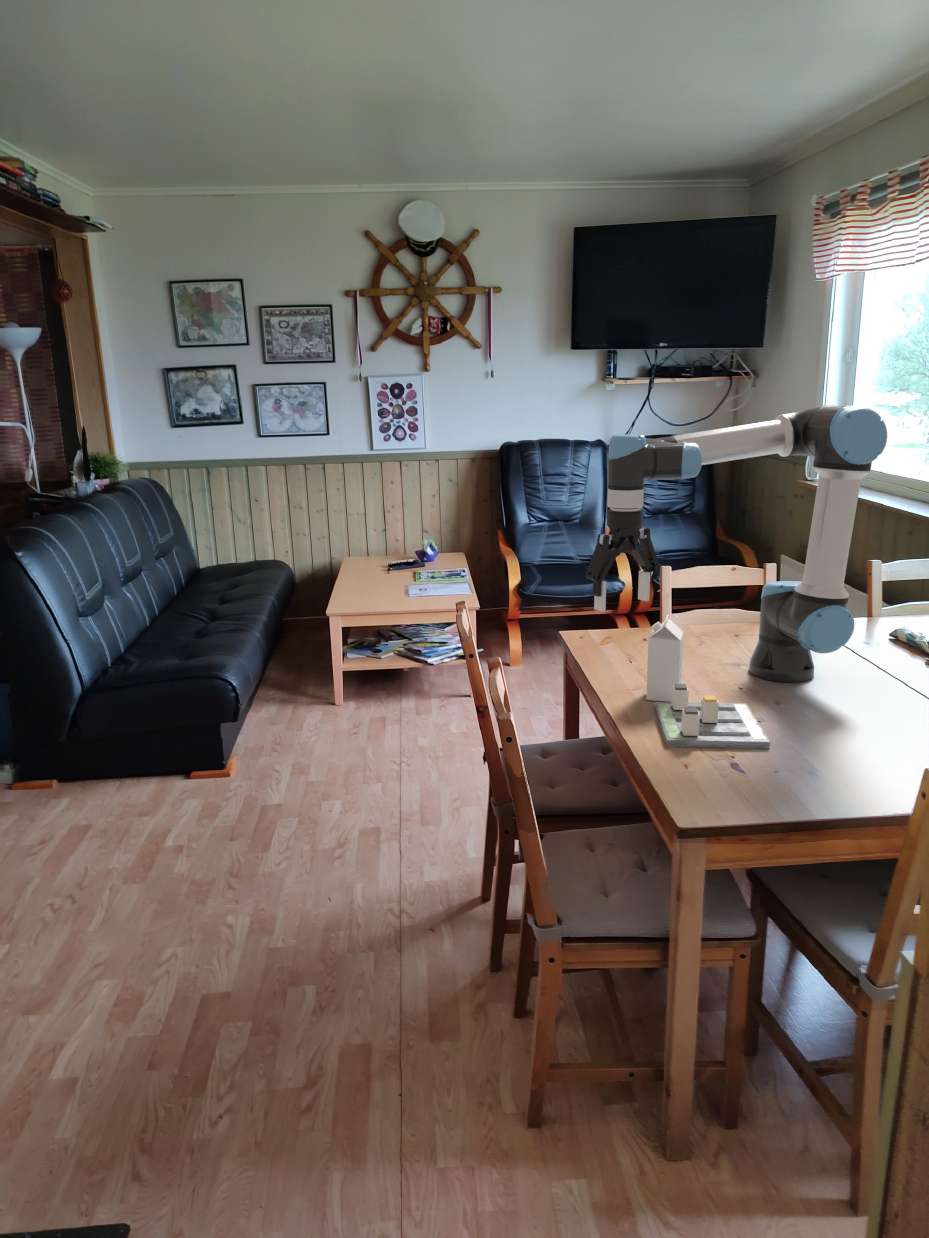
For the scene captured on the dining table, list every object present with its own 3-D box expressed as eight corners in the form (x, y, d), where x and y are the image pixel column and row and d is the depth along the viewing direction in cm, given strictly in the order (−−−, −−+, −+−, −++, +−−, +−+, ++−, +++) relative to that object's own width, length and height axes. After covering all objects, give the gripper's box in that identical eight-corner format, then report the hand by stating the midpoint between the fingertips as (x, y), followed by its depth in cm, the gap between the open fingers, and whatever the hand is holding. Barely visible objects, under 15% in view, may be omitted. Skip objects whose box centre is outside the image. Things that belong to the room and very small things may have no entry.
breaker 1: (685, 704, 188) (686, 683, 187) (687, 709, 185) (688, 688, 184) (671, 704, 188) (672, 683, 187) (673, 709, 186) (674, 688, 184)
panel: (745, 709, 189) (746, 702, 189) (769, 748, 169) (770, 741, 169) (654, 708, 191) (654, 701, 191) (666, 746, 171) (667, 739, 171)
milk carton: (680, 693, 200) (684, 615, 195) (677, 703, 194) (681, 623, 189) (649, 690, 202) (652, 613, 197) (646, 700, 196) (648, 621, 191)
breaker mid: (714, 717, 181) (716, 695, 180) (717, 722, 178) (718, 700, 177) (700, 717, 181) (701, 694, 180) (702, 722, 178) (704, 700, 177)
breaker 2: (696, 729, 175) (697, 707, 173) (698, 735, 172) (699, 712, 170) (681, 729, 175) (682, 706, 174) (683, 735, 172) (684, 712, 171)
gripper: (651, 501, 192) (648, 593, 197) (569, 512, 178) (568, 611, 183) (677, 504, 186) (673, 599, 192) (595, 516, 172) (592, 618, 178)
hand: (622, 605), depth 188 cm, fingers open, 13 cm apart
